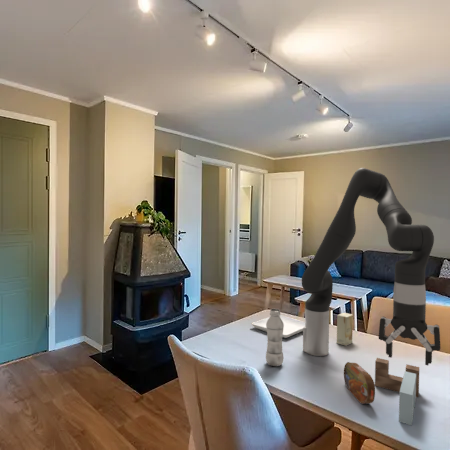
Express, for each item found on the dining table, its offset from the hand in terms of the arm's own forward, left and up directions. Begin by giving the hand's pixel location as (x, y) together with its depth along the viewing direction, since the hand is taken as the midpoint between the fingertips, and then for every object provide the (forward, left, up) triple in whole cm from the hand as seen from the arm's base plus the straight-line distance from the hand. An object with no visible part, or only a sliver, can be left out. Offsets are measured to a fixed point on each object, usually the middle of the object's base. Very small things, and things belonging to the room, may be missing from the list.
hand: (408, 360), depth 88 cm
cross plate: (0, +5, -16) cm, 17 cm away
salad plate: (-56, +46, -17) cm, 74 cm away
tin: (-13, +5, -16) cm, 22 cm away
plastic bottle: (-43, +10, -16) cm, 47 cm away
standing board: (-4, +16, -16) cm, 23 cm away
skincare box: (-27, +46, -16) cm, 56 cm away
